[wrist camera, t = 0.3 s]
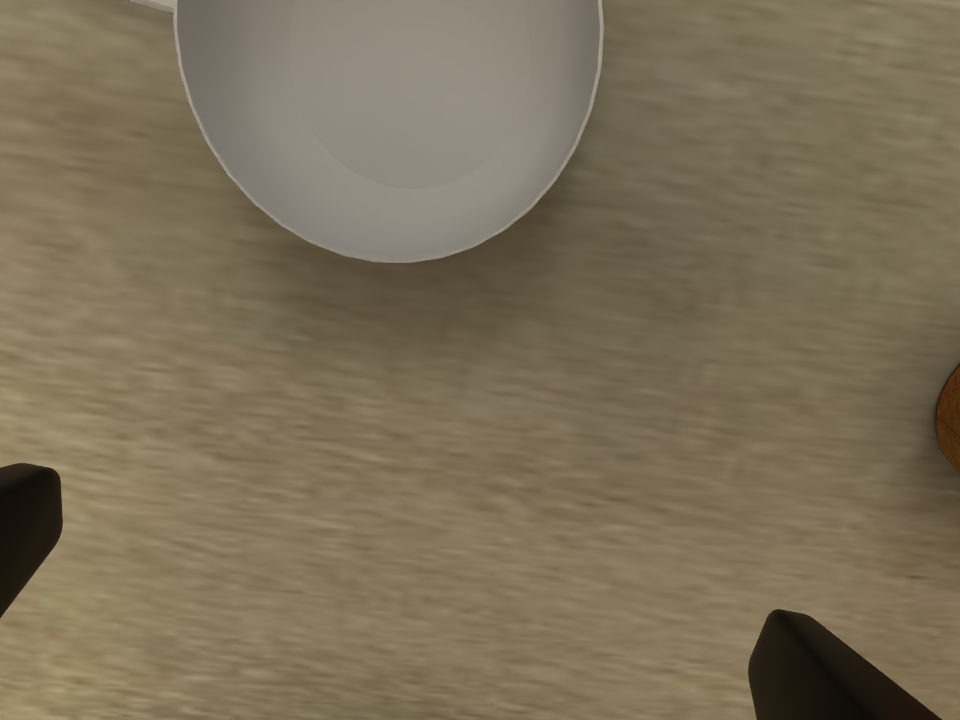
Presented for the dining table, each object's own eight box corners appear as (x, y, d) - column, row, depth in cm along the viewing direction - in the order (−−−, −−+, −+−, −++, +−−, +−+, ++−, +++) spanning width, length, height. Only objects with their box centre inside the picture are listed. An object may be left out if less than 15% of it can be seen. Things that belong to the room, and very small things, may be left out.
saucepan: (527, 282, 21) (528, 312, 17) (-5, 126, 20) (-119, 125, 17) (643, -88, 17) (675, -148, 14) (-3, -290, 17) (-148, -407, 13)
